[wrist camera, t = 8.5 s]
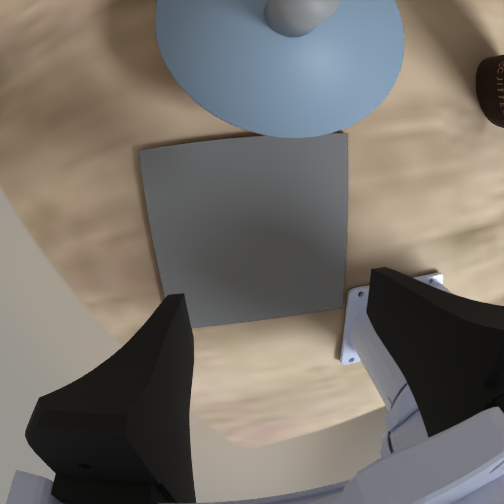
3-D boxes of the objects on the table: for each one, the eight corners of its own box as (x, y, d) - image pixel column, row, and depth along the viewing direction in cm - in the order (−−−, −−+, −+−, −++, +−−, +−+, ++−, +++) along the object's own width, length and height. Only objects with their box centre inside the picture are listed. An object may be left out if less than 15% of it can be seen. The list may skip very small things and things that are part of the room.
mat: (344, 133, 19) (347, 133, 19) (339, 304, 24) (341, 307, 24) (140, 150, 18) (138, 150, 17) (173, 325, 23) (172, 329, 23)
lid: (382, -53, 10) (413, -76, 7) (404, 138, 16) (445, 147, 12) (157, -65, 9) (147, -100, 6) (165, 148, 15) (150, 157, 11)
